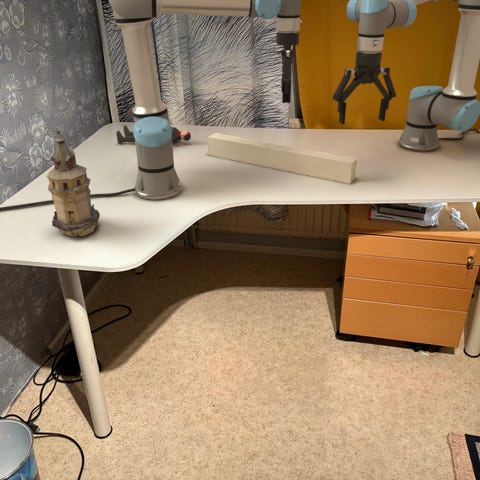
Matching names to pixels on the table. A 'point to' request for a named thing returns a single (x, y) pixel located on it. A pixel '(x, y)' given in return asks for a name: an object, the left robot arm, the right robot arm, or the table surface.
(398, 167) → the table surface
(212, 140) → the bar
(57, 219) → the miniature building
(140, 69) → the left robot arm
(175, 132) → the toy
